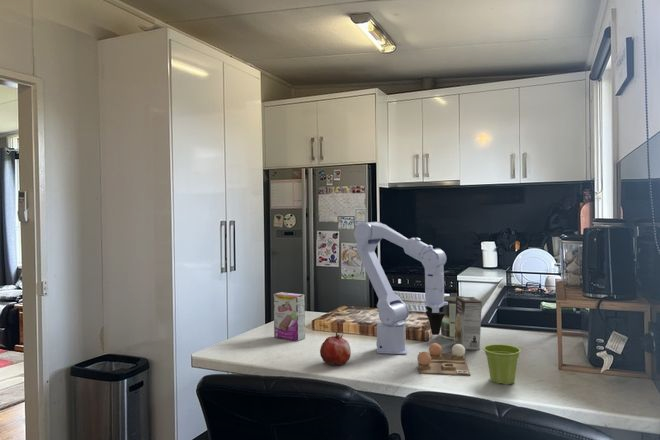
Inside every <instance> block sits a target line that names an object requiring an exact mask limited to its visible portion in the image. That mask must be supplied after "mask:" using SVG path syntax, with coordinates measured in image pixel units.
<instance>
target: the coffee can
mask: <svg viewBox="0 0 660 440" xmlns="http://www.w3.org/2000/svg"><path fill="white" fill-rule="evenodd" d="M456 297H464V296H460V295H446V296H445V295H444V302H448V305H444V306H443V307H444V308H443V310H442V312H445V315H444V317H443V319H442V323H441V328H440V337H442V338H443V339H446V340H451V341H453V340H454V341H455V318H456Z"/></svg>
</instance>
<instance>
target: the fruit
mask: <svg viewBox="0 0 660 440" xmlns="http://www.w3.org/2000/svg"><path fill="white" fill-rule="evenodd" d="M343 335H344V334H343V333H342V334H341V335H340V334H338V331H336V333H335V336H334V335H332V336H329V337H327V338H326V339H325V340H324V341H323V342H322V344H321V346H320V350H319V353H320V357H321V360H322V361H323V362H324V363H325V364H328V365H333V366H337V367H338V366H342V365H345V364H346V363H347V362H348V361H349V360H350V358H351V354H352V352H351V351H352V350H351V346H350V343H349V341H348V340H346V339H345V338H344V337H343Z"/></svg>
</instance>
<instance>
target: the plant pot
mask: <svg viewBox="0 0 660 440" xmlns="http://www.w3.org/2000/svg"><path fill="white" fill-rule="evenodd" d="M483 351H484V352H485V355H486V359H487V365H488V370H489V371H488V372H489V379H490V381H491V382H493V383H495V384H498V385H499V384H503V385H511V384H514V383H515V380H516V376H517V375H516V374H517V373H516V372H517V365H518V359H519V356H520V353H521V352H522V351H521V349H520V348H519V347H517V346H514V345H510V344H509V345H508V344H499V343H498V344H488V345H485V346H484V347H483Z"/></svg>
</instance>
